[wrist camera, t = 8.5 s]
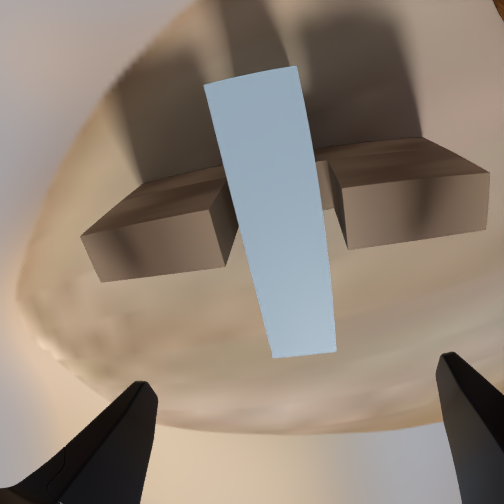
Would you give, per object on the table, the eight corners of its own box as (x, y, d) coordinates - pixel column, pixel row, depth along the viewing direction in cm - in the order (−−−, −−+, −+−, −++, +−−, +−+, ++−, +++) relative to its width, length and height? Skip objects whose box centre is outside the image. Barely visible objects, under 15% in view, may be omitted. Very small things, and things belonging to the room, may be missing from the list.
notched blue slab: (292, 74, 12) (296, 65, 7) (324, 269, 17) (336, 351, 12) (236, 85, 13) (203, 84, 8) (278, 275, 18) (273, 358, 12)
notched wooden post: (422, 137, 13) (489, 172, 8) (425, 176, 14) (485, 229, 9) (143, 183, 16) (80, 236, 10) (154, 218, 17) (101, 282, 11)
